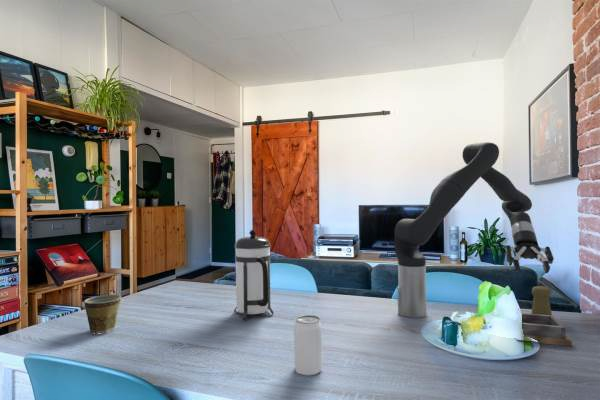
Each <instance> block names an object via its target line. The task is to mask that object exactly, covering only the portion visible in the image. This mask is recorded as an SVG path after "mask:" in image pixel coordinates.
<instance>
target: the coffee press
mask: <svg viewBox="0 0 600 400" xmlns="http://www.w3.org/2000/svg"><path fill="white" fill-rule="evenodd" d="M256 234H257V232H256V230H254V229H251V230H250V231H249V235H250V236H245V237H244V236H243V237H241V238H238V239H237V240H236V242H235V244H234V248H235V255H234V261H235V296H236V297H235V299H236V300H235V301H236V303H235V305H236V306H235V308H234V309H233V312H234V314H238V313H240V314H242V318H241V319H242V321H248V320H249V316H250V315H259V314H263V313H265V314H266V315H268V317H272V316H273V315H274V313H275V312H274V311H273V309H272V307H271V249H270V248H271V246H272V244H271V243H270V240H269V239H267V238H266V237H263V236H256Z"/></svg>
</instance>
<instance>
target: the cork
mask: <svg viewBox="0 0 600 400" xmlns="http://www.w3.org/2000/svg"><path fill="white" fill-rule="evenodd" d="M531 294H532V296H533V298H532V299H533V300H532V305H531V306H532V309H531V313H530V314H539V315H551V316H553V315H552V309H551V307H552V306H551V302H550V297H551V295H552V291H551V289H550V288H549V287H547V286H543V285H539V286H538V285H536V286H533V287H532V288H531Z"/></svg>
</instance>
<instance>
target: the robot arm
mask: <svg viewBox="0 0 600 400" xmlns="http://www.w3.org/2000/svg"><path fill="white" fill-rule="evenodd" d="M499 156H500V148H499V146H498V145H497V144H495V142H494V143H493V142H489V141H488V142H487V141H486V142H484V141H483V142H473V143H469V144H467V145H465V147H464V148H463V150H462V159H463V162H464V163H465V165H464V166H463V167H461V168H459V169H457V170H455V171H453V172H452V173H450V174H448V175H446V176H445V177H444V178H443V179H442V180H441V181H440V182H439V183H437V185H436V186H435V187H434V189H433V190H432V192H431V194H430V199H429V204H428V206H427V207H426V209H425V210H424V211H423V212H422V213H421V214H420V215H419V216H418V217H416V218H402V219H400V220H398V222H397V223H396V225H395V228H394V248H395V256H396V258H397V266H398V267H397V269H398V270H397V273H398V274H397V277H398V280H397V281H398V286H397V313H398V314H397V315H399V316H403V317H407V318H417V319H418V318H425V317H426V316H427V271H426V270H427V268H426V266H427V264H426V261H427V260H426V257H425V256H424V255H423V254H422V253H421V252H420V250H419V247H421V246H423V245H425V244H427V242H428V241H429V240H430V239H431V237H432V236H433V234H434V233H435V232H436V230H437V229H438V227H439V225H440V224H441V223H442V221H443V220H444V219H445V218H446V216H447V215H448V214H449V213H450V212H451V210H452V209H454V207H455V206H456V205H457V204H458V203H459V201H460V200H461V199H462V198H463V197H464V196H465V194H466V193H467V192H468V191H469V190H470V188H471V187H473V186H474V184H475V183H476V182H477V181H478V180H479V179H480V178H481V179H483V181H484V182H485V183H486V184H487V185H488V186H489V187H490V188H491V189H492V190H493V192H494V193H495V194H496V195H497V197H498V199H500V201H502V203H501V208H502V211H503V212H504V214H505V215H506V216H507V218H508V220H509V223H510V227H511V236H512V237H511V238H512V241H513V245H514V247H512V246H510V245H509V244H508V245H506V248H505V255H506V261H507V262H508V263H512V265H513V268H514V271H516V272H517V273H521V272H520V271H521V267H520V260H522V259H524V260H527V259H529V260H534V259H535V261H537V262H540V263H541V264H542V268H543V271H544V274H548V273H550V270H551V267H550V265H552V264H553V263H554V260H555V259H554V255H553V253H552V250H551V247H550V246H545V247H540V246H539V243H538V239H537V236H536V231H535V229H534V226H533V223H532V220H531V216H530V215H529V214H528V213H527V212H528V211H530V210H531V209H532V207H533V201H532V200H531V198H530V197H529V196H528V195H526V194H525V193H523V192H522V191H520V190H519V189H517V187H516V186H515V185H514V184H513V181H511V180H510V178H509V177H508V176H506V175H505V174H503V173H502V172H500V171H499V170H497V169H496V168H494V165H495V164H496V162H497V160H498V159H499ZM513 252H515V254H516V255H514V256H512V253H513Z"/></svg>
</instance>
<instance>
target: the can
mask: <svg viewBox="0 0 600 400" xmlns="http://www.w3.org/2000/svg"><path fill="white" fill-rule="evenodd" d="M320 320H321V319H320V318H319V317H318V316H317V315H314V314H310V315H309V314H305V315H299V316H297V317H296V318H295V323H294V324H293V325H294V328H293V335H294V336H293V340H294V341H293V342H294V343H293V346H294V348H293V349H294V350H293V351H294V357H293V358H294V370H295V372H296V373H298V374H299V375H301V376H304V377H314V376H317V375H319V374H320V373H321V371H322V369H323V342H322V340H323V337H322V336H323V335H322V334H323V333H322V332H323V330H322V323H321V322H320Z"/></svg>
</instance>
